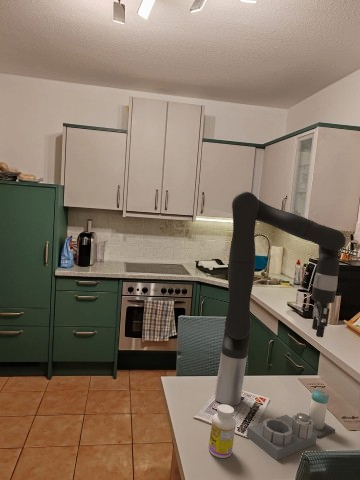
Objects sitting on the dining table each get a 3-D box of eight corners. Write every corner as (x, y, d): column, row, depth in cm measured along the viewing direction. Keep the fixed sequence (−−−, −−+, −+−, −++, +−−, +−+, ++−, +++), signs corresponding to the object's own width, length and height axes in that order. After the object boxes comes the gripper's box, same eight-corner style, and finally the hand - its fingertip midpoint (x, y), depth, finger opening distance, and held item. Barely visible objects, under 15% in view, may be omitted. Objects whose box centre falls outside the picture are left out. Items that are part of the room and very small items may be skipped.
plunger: (302, 437, 113) (304, 421, 112) (291, 429, 116) (293, 414, 116) (310, 434, 115) (313, 418, 115) (299, 427, 118) (302, 411, 118)
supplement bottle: (206, 443, 109) (212, 401, 108) (228, 444, 110) (234, 402, 109) (210, 458, 102) (216, 414, 101) (233, 460, 103) (240, 415, 102)
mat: (318, 438, 119) (318, 435, 119) (295, 423, 126) (295, 420, 126) (334, 431, 124) (335, 429, 124) (311, 417, 131) (312, 415, 131)
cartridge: (308, 427, 123) (313, 395, 122) (306, 419, 128) (311, 388, 127) (325, 431, 122) (330, 399, 121) (322, 423, 127) (326, 391, 126)
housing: (276, 460, 105) (280, 436, 105) (246, 436, 115) (249, 414, 115) (315, 444, 116) (319, 422, 115) (285, 423, 125) (288, 403, 125)
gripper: (340, 293, 121) (332, 341, 122) (331, 285, 135) (324, 329, 136) (316, 289, 122) (309, 337, 123) (310, 282, 136) (303, 325, 137)
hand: (317, 333), depth 130 cm, fingers open, 8 cm apart
